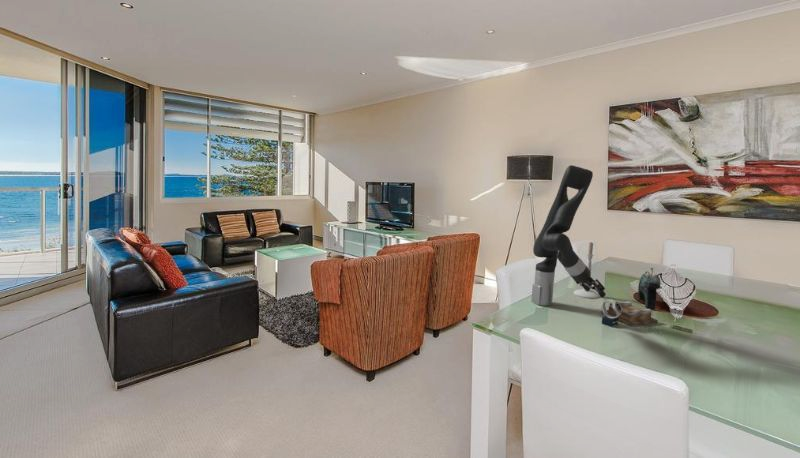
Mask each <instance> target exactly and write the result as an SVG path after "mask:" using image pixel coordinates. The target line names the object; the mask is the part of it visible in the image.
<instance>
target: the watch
mask: <svg viewBox="0 0 800 458" xmlns="http://www.w3.org/2000/svg"><path fill="white" fill-rule="evenodd" d="M607 302H610V303H612V306H613V309H614V311H615V312H616V314H617V316H616V317H615V316H612V315H608V312H607V310H608V309H607V306H606V303H607ZM602 311H603V313H604V314H603V316H602V318H601V324H602V325H604V326H608V327H610V328H612V327H615V326H618V325H619V321H618V317H619V316H620V315H621V312H622V307H621V305H620V303H619V301H617V300H615V299H612V298H611V299H606V300H604V301H603V302H602V303H601V312H602Z"/></svg>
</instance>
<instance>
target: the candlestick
mask: <svg viewBox="0 0 800 458" xmlns="http://www.w3.org/2000/svg"><path fill="white" fill-rule="evenodd" d="M593 250H594V242H592V241H591V242H588V253H586V257H587V260H586V261H587V263H586V266H587V267H588V269H589V270H590V276H591V277H592V259H593V256H594V254H593ZM573 295H575V296H576V297H579V298H582V299H590V300H594V299H595V300H596V299H599V298H600V295H599V294H598V293H597V292H596V291H595V290H594V291H593V290H592V289H591V288H590V290H589V291H588V292H587V291H586V290H585V289H584V288H583V287H582V288H580V289H576V290H574V291H573Z"/></svg>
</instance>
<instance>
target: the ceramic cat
mask: <svg viewBox="0 0 800 458" xmlns="http://www.w3.org/2000/svg"><path fill="white" fill-rule="evenodd" d="M650 270H651V273H653V272H654V268H653V267H651V268H650ZM647 273H648V274H647ZM637 286H638V287H637V300H638V299H639V300H638V301H640V300H645V301H644V303H645V304H644V307H646V308H645V309H651V311H656V305H657V290H659V289H661V278H660V277H659V274H657V273H656V274H654V275H653V274H650V272H649V271H645V273H643V274H642V275H641V277H640V279H639V282H638V285H637Z"/></svg>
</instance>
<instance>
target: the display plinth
mask: <svg viewBox="0 0 800 458" xmlns="http://www.w3.org/2000/svg"><path fill="white" fill-rule="evenodd" d="M618 302H619V301H618ZM619 303H620V305H621V307H622V312H621V315H620V316H619V317H618V322H620V323H623V324H625V325H627V326H629V327H633V326H634V327H635V326H642V325H651V324H658V323H659V319H656V318H653V317H652V310H651V309H647V308H644V309H642V308H640V307H637V306H634V305H632V304H633V302H631V301H621V302H619ZM606 310H607V312H608V315H612V316H615V317H616V316H617V314H616V312H615V311H614V309H613V306H612V303H611V302H610V303H609V305H608V309H606ZM600 314H603V315H604V313H603V311H602V310H601V313H600Z"/></svg>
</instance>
